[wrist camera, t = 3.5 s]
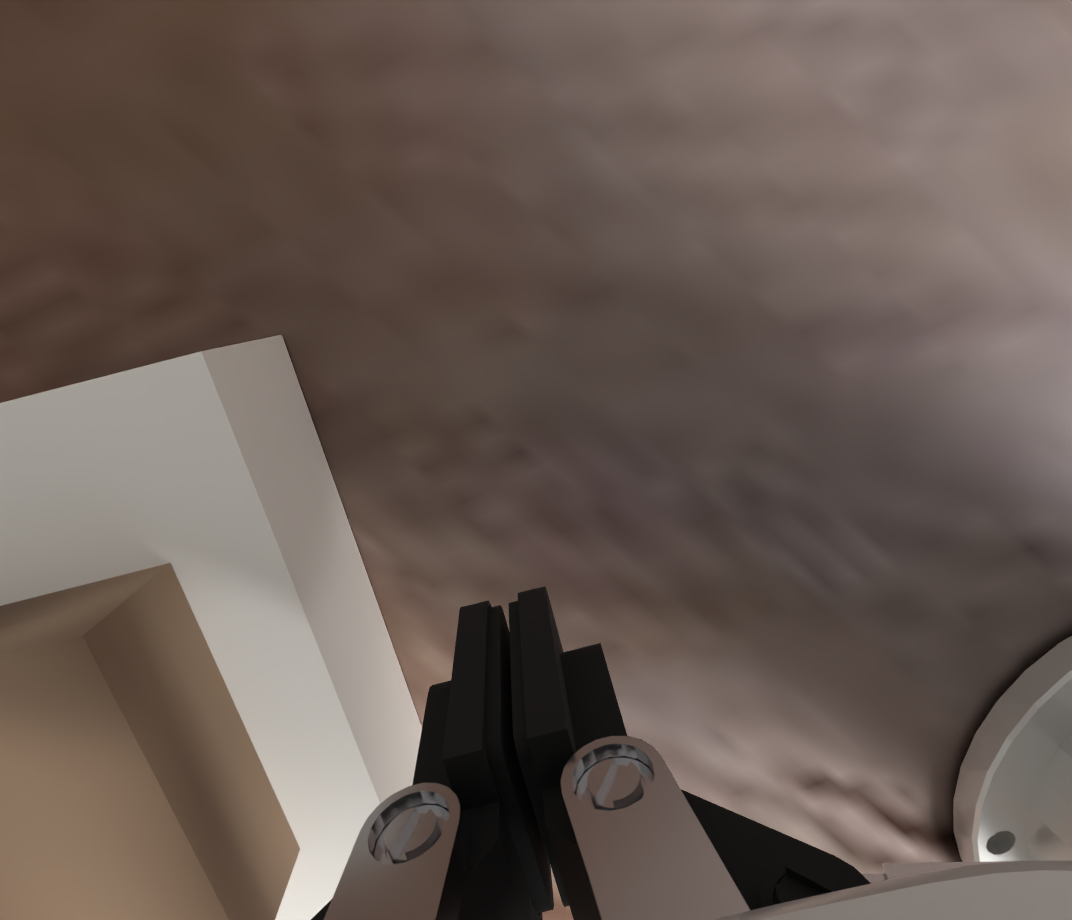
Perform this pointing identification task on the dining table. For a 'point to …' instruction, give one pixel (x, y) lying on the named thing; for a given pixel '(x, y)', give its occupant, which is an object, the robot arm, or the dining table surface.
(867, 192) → the dining table surface
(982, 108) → the dining table surface
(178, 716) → the walnut tile
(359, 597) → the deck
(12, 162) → the dining table surface
